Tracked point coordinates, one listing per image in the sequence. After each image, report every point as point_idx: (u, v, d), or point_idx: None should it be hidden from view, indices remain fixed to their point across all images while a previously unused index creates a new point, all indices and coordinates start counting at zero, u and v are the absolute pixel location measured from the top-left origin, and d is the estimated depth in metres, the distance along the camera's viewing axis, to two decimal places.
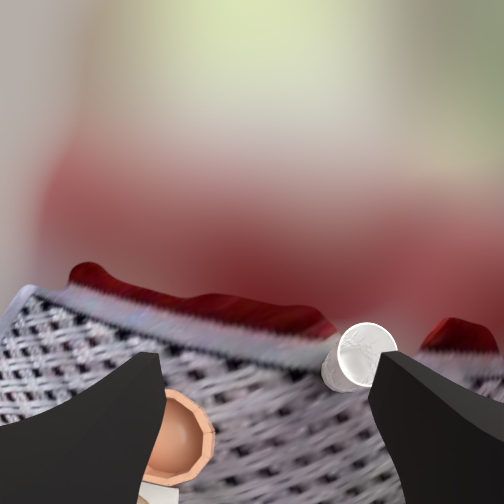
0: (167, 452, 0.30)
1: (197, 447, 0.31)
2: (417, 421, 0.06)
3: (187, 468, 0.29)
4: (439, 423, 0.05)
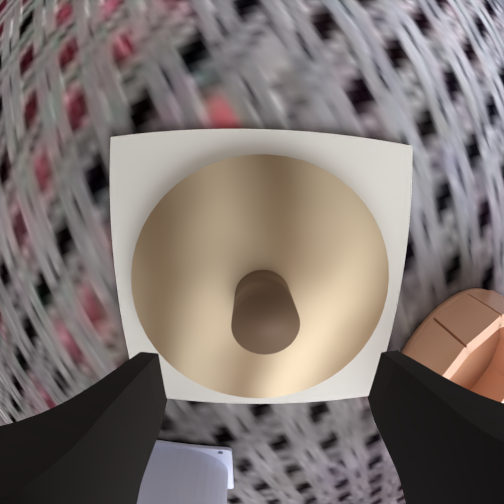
0: None
1: None
2: (417, 421, 0.06)
3: None
4: (439, 423, 0.05)
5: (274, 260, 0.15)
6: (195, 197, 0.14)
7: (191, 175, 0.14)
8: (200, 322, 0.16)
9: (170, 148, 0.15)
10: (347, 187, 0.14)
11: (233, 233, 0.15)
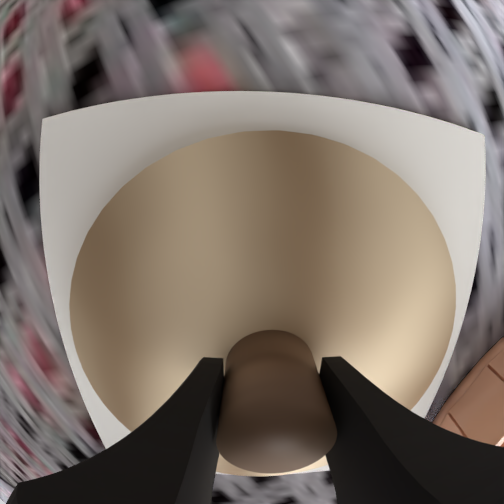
0: None
1: None
2: (348, 436, 0.06)
3: None
4: (368, 441, 0.05)
5: (291, 315, 0.09)
6: (153, 208, 0.08)
7: (146, 170, 0.08)
8: None
9: (120, 127, 0.08)
10: (412, 192, 0.08)
11: (220, 271, 0.08)
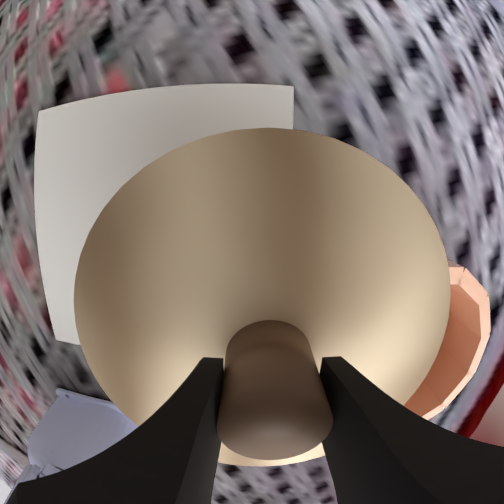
0: None
1: None
2: (348, 436, 0.06)
3: None
4: (369, 441, 0.05)
5: (287, 305, 0.09)
6: (152, 206, 0.08)
7: (144, 169, 0.08)
8: None
9: (75, 114, 0.15)
10: (403, 184, 0.08)
11: (218, 264, 0.09)
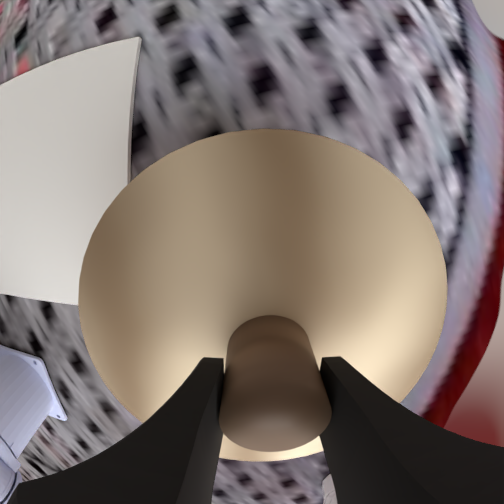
0: None
1: None
2: (347, 436, 0.06)
3: None
4: (368, 442, 0.05)
5: (285, 300, 0.09)
6: (152, 208, 0.09)
7: (143, 173, 0.08)
8: None
9: None
10: (395, 179, 0.08)
11: (217, 262, 0.09)
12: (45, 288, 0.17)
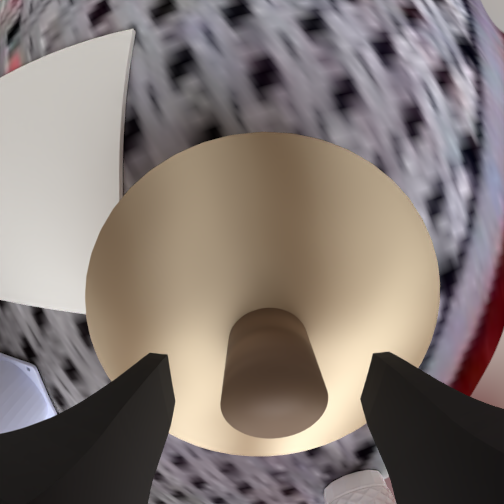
0: None
1: None
2: (407, 424, 0.06)
3: None
4: (430, 426, 0.05)
5: (283, 293, 0.10)
6: (158, 205, 0.09)
7: (150, 172, 0.09)
8: (183, 378, 0.11)
9: None
10: (387, 178, 0.09)
11: (219, 257, 0.10)
12: (36, 294, 0.16)
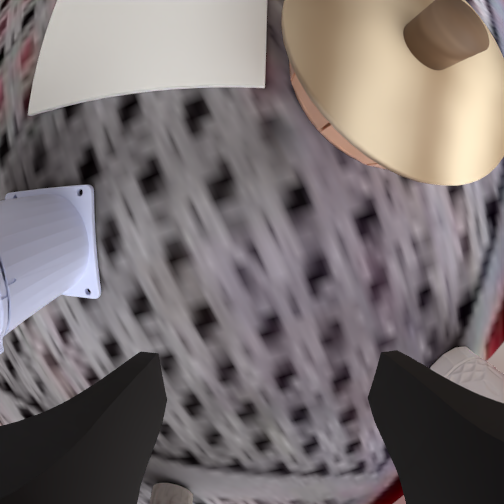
0: None
1: None
2: (417, 421, 0.06)
3: None
4: (439, 423, 0.05)
5: None
6: None
7: None
8: (373, 57, 0.10)
9: None
10: None
11: None
12: (141, 76, 0.15)
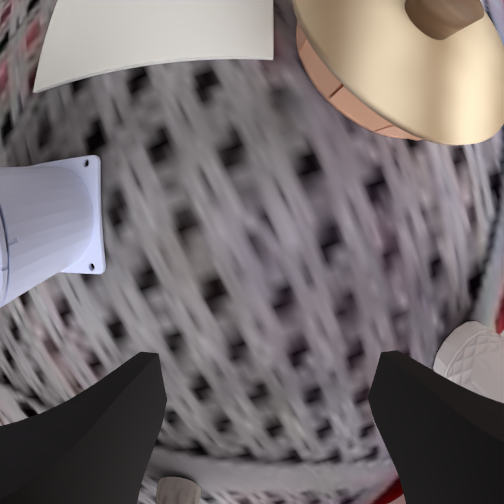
0: None
1: None
2: (417, 421, 0.06)
3: None
4: (439, 423, 0.05)
5: None
6: None
7: None
8: (378, 25, 0.09)
9: None
10: None
11: None
12: (150, 49, 0.14)
